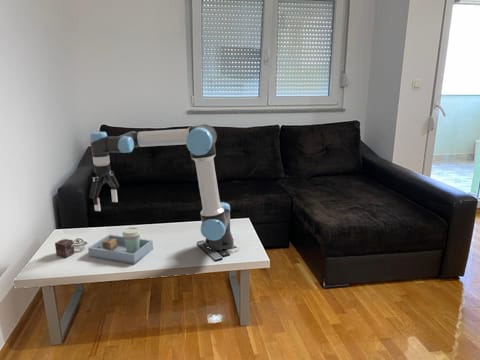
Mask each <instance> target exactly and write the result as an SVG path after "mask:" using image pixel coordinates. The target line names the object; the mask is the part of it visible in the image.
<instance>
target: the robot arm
mask: <svg viewBox="0 0 480 360" xmlns="http://www.w3.org/2000/svg"><path fill="white" fill-rule="evenodd" d="M89 136H90V142H89V143H90V147H91V153H92V161H93V173H94V174H95V177H94V176H92V177H91V185H90V191H89V195H88V198H89V199H92V201H93V205H94V206H93V207H94V211H95V212H101V203H100V201H101V200H100V197H99V196H100V192H101V190H102V187H103V186H104V184H107V185H108V186H109V187H110V188H111V189H110V193H111V202H112V203H118V189H119V187H120V184H119V182H118V180H117V178H116V175H115V172H114V171H113V170H111V164H110V163H111V161H110V160H111V159H110V153H123V154H125V153H132V152H133V151H134V148H140V147H142V148H143V147H158V146H177V145H186V148H187V150H188V151H189V153H190V158H191V160H193V161H194V163H195V168H196V174H197V181H198V189H199V195H200V198H201V199H200V200H201V206H202V207H201V208H202V210H201V211H200V214H199V215H200V218H201V219H200V220H201V225H200V233H201V235H202V236H203V237H204V238H205V242H204V245H205V244H206V246H207V247H209V248H211V249H214V250H213V251H218V250H219V251H222V250H221V249H227V250H229V249H231V248H232V247H233V246H234V243H235V242H234V237H233V234H232V232H231V206H230V204H229V203H227V202H223V201H222V202H221V200H220V194H219V188H218V187H219V186H218V182H217V181H218V180H217V174H216V169H215V167H216V166H215V160H214V158H215V157H216V155H217V153H216V145H215V144H216V142H217V138H218V135H217V132H216V129H215V128H214V127H212V126H211V125H210V124H209V125H208V124H200V125H193V126H189V127H188V128H177V129H164V130H163V129H162V130H161V129H160V130H146V131H145V130H143V131H128V132H126V133H123V134H121V135H118V136H110V135H109V136H108V134H107V132H106V131H95V132H92V133H90V135H89ZM206 246H205V247H206ZM207 247H206V248H207ZM211 249H210V250H211Z"/></svg>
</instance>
